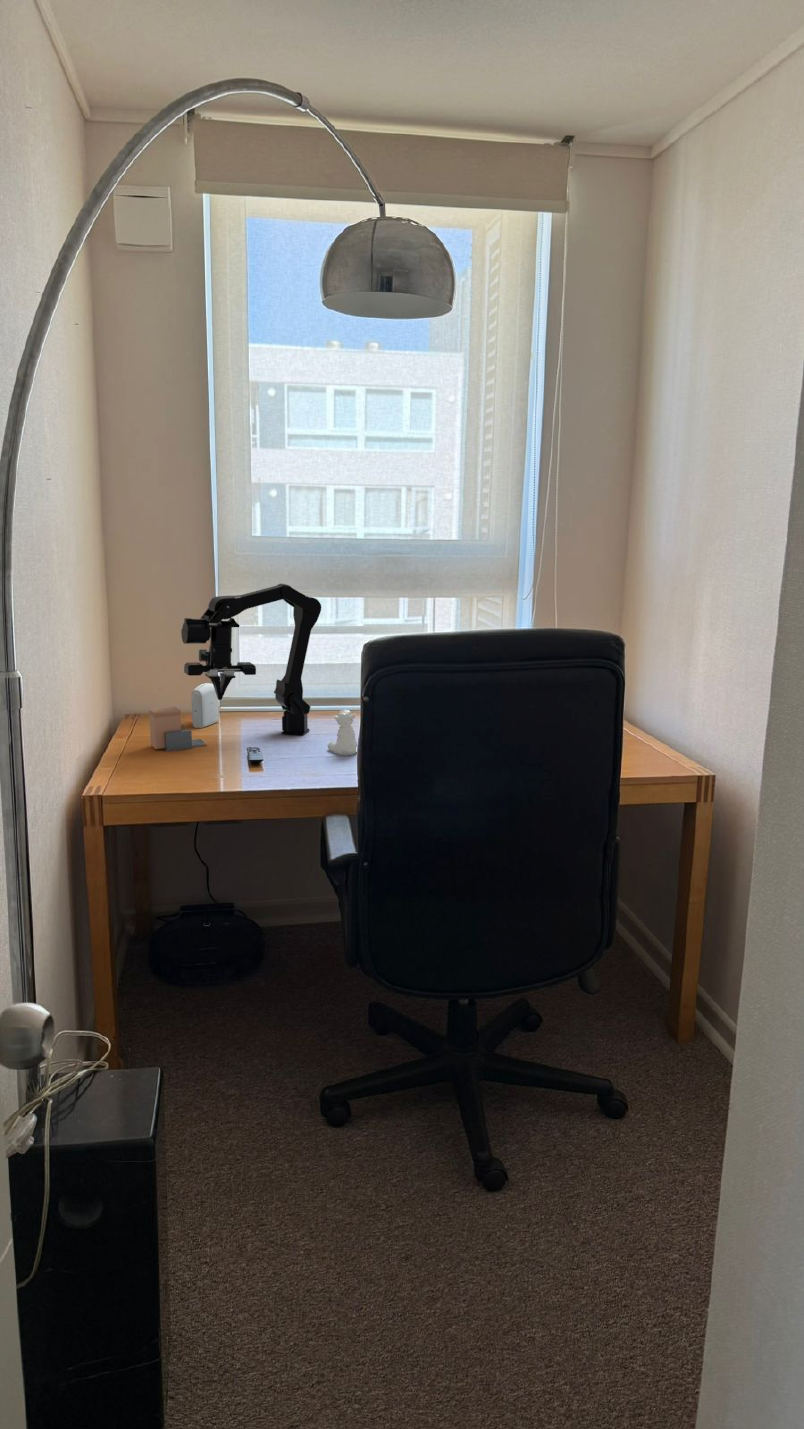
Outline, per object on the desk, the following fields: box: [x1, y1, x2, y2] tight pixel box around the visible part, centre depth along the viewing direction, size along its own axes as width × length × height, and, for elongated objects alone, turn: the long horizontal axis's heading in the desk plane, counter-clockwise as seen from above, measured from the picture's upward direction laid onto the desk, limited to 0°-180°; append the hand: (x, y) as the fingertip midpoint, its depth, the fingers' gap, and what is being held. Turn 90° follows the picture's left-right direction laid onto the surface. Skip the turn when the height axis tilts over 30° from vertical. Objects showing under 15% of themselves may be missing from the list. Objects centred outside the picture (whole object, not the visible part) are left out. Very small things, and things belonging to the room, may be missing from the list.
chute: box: [162, 723, 208, 752], centre depth 260 cm, size 12×8×5 cm
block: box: [148, 706, 182, 750], centre depth 258 cm, size 7×5×10 cm
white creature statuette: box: [327, 709, 358, 757], centre depth 254 cm, size 10×9×12 cm
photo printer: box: [190, 682, 220, 729], centre depth 284 cm, size 10×4×12 cm, turn 160°
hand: (219, 699), depth 264 cm, fingers closed
